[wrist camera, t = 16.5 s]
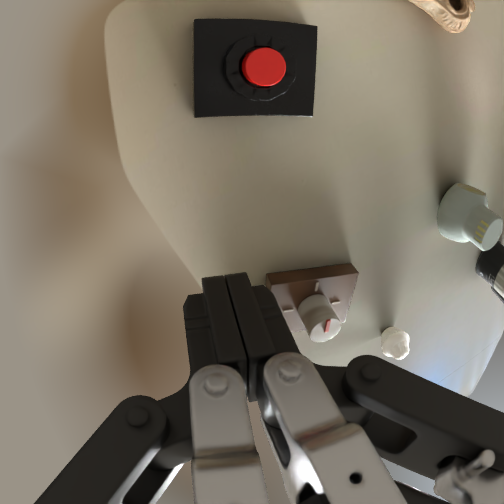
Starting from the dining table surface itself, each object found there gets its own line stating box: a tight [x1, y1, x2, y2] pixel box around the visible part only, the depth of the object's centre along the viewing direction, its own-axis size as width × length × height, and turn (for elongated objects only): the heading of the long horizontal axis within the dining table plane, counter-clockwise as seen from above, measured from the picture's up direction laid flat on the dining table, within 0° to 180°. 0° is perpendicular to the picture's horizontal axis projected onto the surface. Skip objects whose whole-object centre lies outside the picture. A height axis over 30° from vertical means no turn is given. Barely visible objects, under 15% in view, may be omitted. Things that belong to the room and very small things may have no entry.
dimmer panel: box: [266, 263, 359, 333], centre depth 45 cm, size 13×10×3 cm
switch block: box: [193, 19, 317, 118], centre depth 26 cm, size 12×10×4 cm
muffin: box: [381, 327, 409, 360], centre depth 55 cm, size 6×6×7 cm
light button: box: [242, 48, 286, 86], centre depth 24 cm, size 4×4×2 cm
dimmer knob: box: [298, 294, 341, 342], centre depth 42 cm, size 5×5×5 cm
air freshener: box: [437, 183, 503, 251], centre depth 40 cm, size 11×8×10 cm
